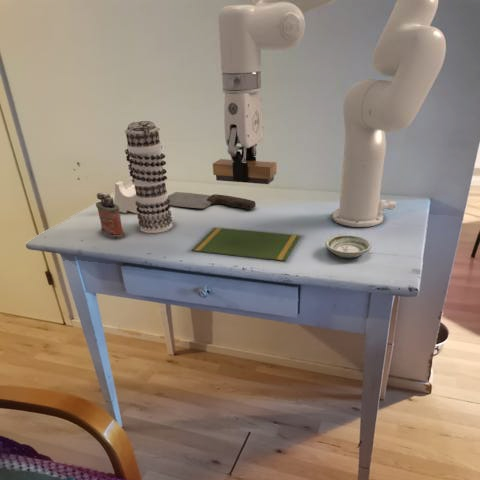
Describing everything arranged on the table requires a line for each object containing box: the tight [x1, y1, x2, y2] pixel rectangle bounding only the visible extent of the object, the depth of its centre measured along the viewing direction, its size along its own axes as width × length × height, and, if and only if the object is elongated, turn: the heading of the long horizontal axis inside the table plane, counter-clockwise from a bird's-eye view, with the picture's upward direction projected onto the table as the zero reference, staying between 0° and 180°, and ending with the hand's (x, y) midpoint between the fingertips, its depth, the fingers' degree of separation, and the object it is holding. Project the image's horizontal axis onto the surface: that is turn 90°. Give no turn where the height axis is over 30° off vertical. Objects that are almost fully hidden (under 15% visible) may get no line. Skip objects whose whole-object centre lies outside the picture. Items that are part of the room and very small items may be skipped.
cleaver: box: [168, 191, 257, 211], centre depth 129 cm, size 30×10×2 cm, turn 62°
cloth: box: [191, 227, 301, 262], centre depth 105 cm, size 22×14×1 cm, turn 71°
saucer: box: [324, 234, 372, 259], centre depth 98 cm, size 10×10×2 cm
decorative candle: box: [124, 120, 173, 234], centre depth 110 cm, size 9×9×25 cm
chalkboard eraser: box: [212, 158, 277, 185], centre depth 96 cm, size 4×13×4 cm, turn 67°
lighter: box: [95, 192, 125, 240], centre depth 111 cm, size 8×3×10 cm, turn 45°
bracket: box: [114, 180, 139, 215], centre depth 129 cm, size 13×7×8 cm, turn 168°
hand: (245, 177), depth 97 cm, fingers closed on chalkboard eraser, 4 cm apart
